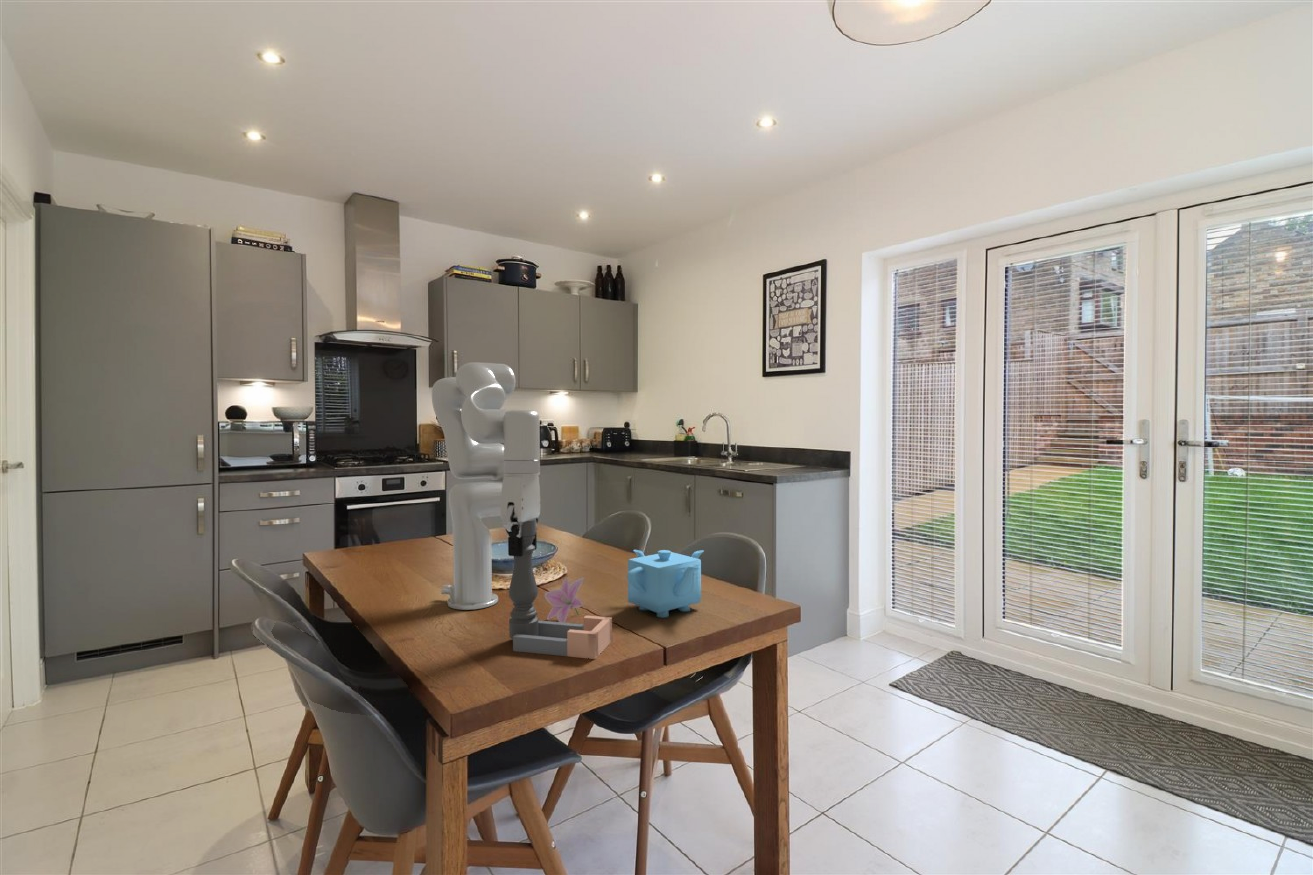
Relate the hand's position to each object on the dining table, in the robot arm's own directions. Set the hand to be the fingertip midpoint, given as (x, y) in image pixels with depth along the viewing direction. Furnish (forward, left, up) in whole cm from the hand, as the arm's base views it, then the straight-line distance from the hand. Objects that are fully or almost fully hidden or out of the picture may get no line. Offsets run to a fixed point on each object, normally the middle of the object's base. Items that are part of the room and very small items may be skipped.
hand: (522, 551), depth 131 cm
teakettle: (+25, +30, -20) cm, 44 cm away
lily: (+3, +16, -20) cm, 26 cm away
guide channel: (+9, 0, -19) cm, 22 cm away
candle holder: (0, 0, -18) cm, 18 cm away
